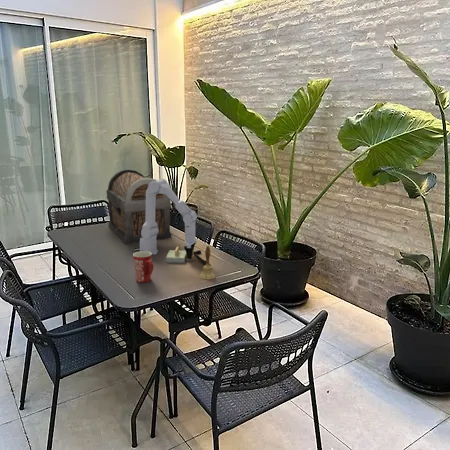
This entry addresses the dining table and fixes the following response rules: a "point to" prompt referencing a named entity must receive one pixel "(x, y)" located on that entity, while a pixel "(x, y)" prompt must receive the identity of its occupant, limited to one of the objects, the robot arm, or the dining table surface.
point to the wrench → (199, 257)
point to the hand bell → (207, 267)
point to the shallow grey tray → (176, 260)
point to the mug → (143, 266)
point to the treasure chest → (135, 207)
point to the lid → (176, 254)
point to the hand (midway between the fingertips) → (190, 256)
